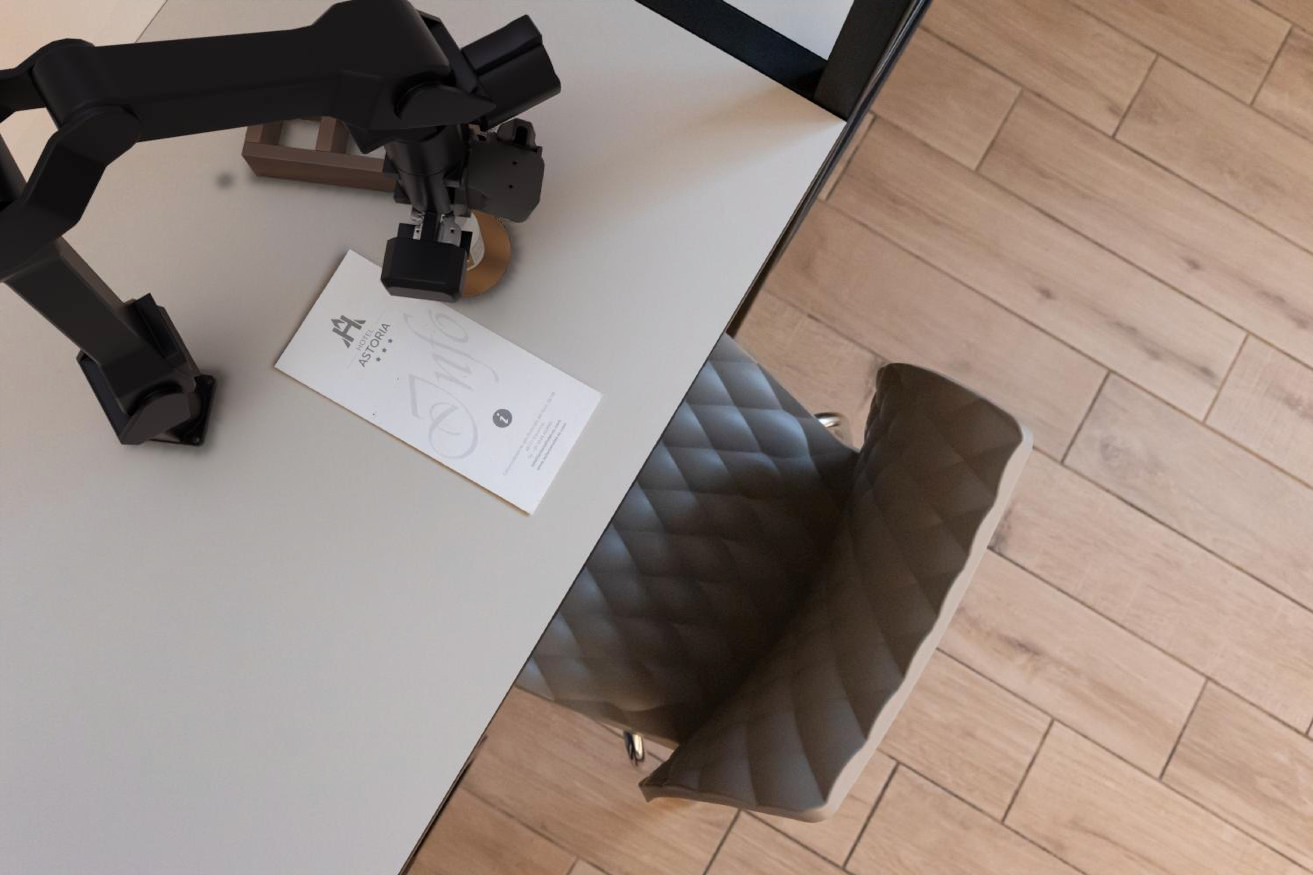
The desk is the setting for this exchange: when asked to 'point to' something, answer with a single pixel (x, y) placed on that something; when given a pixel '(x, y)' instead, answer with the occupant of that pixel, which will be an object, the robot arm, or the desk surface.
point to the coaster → (488, 256)
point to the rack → (315, 157)
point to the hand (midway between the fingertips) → (453, 230)
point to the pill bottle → (476, 242)
